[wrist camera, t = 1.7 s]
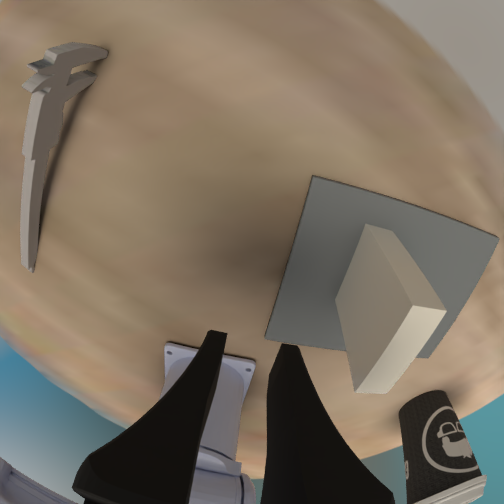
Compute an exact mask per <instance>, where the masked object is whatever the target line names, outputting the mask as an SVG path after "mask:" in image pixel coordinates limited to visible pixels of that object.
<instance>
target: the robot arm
mask: <svg viewBox="0 0 504 504" xmlns="http://www.w3.org/2000/svg"><path fill="white" fill-rule="evenodd" d="M226 338H227V333H224V332H219V331H214V330H210V331H208V332H207V335H206V337H205V339H204V341H203V343H202V345H201V347H200V349H194V348H190V347H186V346H182V345H177V344H173V343H166V344H165V347H164V358H165V383H164V386H163V389H162V392H161V395H160V398H159V401H158V402H157V403H156V404H155V405H154V406H153V407H152V408H151V409H150V410H149V411H148V412H147V413H146V414H145V415H143V416H142V417H141V418H140V419H139V420H138V421H137V422H135V423H134V424H133V425H132V426H130V427H129V428H128V429H126V430H125V431H124V432H123V433H121V434H120V435H119V436H117V437H116V438H114V439H113V440H112V441H110V442H108V443H107V444H105V445H104V446H102V447H100V448H99V449H97V450H96V451H94V452H92V453H91V454H89V456H88V457H87V458H86V459H85V461H84V462H83V463H82V465H81V466H80V468H79V470H78V472H77V474H76V477H75V480H74V483H73V486H72V488H73V490H74V491H75V492H76V493H78V494H79V495H80V496H82V497H83V498H85V501H84V504H256V493H255V487H254V485H253V483H252V482H251V480H250V478H249V477H248V475H246V474H244V473H241V464H242V463H241V462H236V461H235V459H236V451H237V443H238V434H239V426H240V417H241V409H242V404H243V401H244V399H245V396H246V393H247V390H248V387H249V384H250V382H251V379H252V376H253V373H254V370H255V367H256V363H255V362H254V361H253V360H248V359H243V358H237V357H232V356H227V355H223V353H224V348H225V343H226ZM0 504H78V503H75V502H73V501H71V500H69V499H67V498H65V497H63V496H61V495H59V494H57V493H55V492H53V491H51V490H50V489H48V488H46V487H44V486H42V485H41V484H39V483H37V482H35V481H34V480H32V479H30V478H29V477H27V476H25V475H24V474H22V473H21V472H19V471H18V470H16V469H14V468H13V467H12V466H11V465H10V464H9V463H7V462H6V461H5V460H3V459H2V458H1V457H0ZM260 504H395V500H394V497H393V493H392V492H391V491H390V490H389V489H388V488H387V487H386V486H385V485H383V484H382V483H381V482H380V481H379V480H378V479H377V478H376V477H375V476H374V475H373V474H372V473H371V472H370V471H369V470H368V469H367V468H366V467H365V466H364V464H363V463H362V462H361V461H360V460H359V458H358V457H357V456H356V455H355V454H354V452H353V451H352V450H351V449H350V447H349V446H348V445H347V443H346V442H345V440H344V439H343V438H342V436H341V435H340V433H339V432H338V430H337V429H336V427H335V425H334V424H333V422H332V420H331V419H330V417H329V415H328V413H327V412H326V410H325V408H324V406H323V404H322V402H321V400H320V398H319V396H318V394H317V392H316V389H315V387H314V385H313V383H312V381H311V378H310V376H309V373H308V371H307V368H306V366H305V363H304V360H303V358H302V355H301V352H300V349H299V347H298V346H296V345H289V344H283V343H282V344H281V347H280V349H279V352H278V354H277V357H276V359H275V362H274V364H273V367H272V369H271V372H270V374H269V381H268V390H267V457H266V466H265V475H264V483H263V490H262V497H261V503H260Z"/></svg>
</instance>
